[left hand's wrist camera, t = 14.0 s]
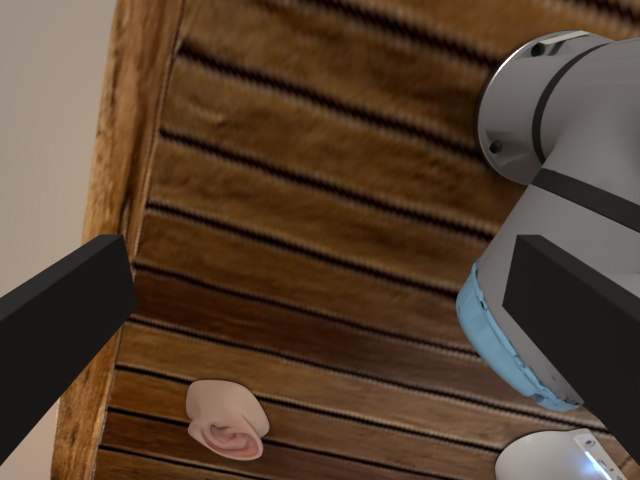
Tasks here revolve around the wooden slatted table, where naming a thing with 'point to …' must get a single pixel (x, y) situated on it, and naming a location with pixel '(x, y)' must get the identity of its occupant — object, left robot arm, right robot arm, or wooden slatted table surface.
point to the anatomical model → (226, 419)
